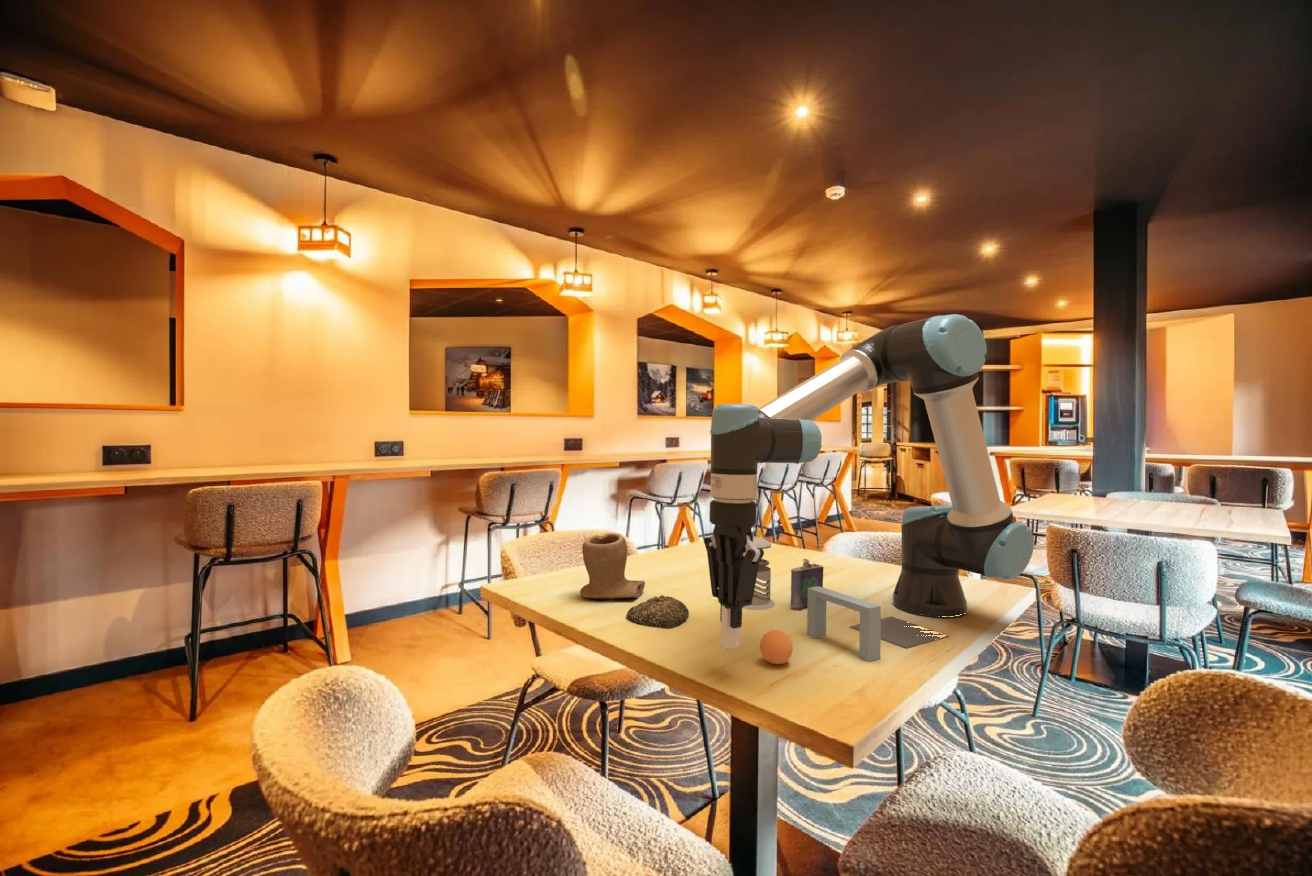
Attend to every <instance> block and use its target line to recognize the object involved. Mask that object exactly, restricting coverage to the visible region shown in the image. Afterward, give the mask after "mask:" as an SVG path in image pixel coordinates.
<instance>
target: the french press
mask: <svg viewBox="0 0 1312 876" xmlns="http://www.w3.org/2000/svg"><path fill="white" fill-rule="evenodd" d="M753 501H754V502H755V503H756V501H759V497H758V495H757V497H756V498H755V499H753ZM752 536H753V544H754V545H755V546H756V548H757V549H760V548H761V549H763V550H766V549H770V548H772V543H771V542H769V541H768V540H767V539H765V538H762V537H758V536H755V533H752ZM768 565H770V561H769V560H767V559H764V558H762V559H761V561H760V563H759V568H758V573H757V578H756V584H757V585H756V584H755V589H754V595H753V600H752V604H751V605H748V606H743V608H742V609H746V610H753V611H763V610H769V609H772V608H775V606H776V605H775V604H776V603H775V602H774V601H773V600H772V599H771V583H772V582H771V575H772V574H771V573H772V572H771V570H772V569H771V568H770V567H769V566H768ZM758 580H761V581H758ZM762 581H763V582H762ZM763 587H764V588H763Z"/></svg>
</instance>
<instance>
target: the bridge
mask: <svg viewBox="0 0 1312 876" xmlns="http://www.w3.org/2000/svg"><path fill="white" fill-rule="evenodd" d="M827 602H829V603H832V604H835V605H837V606H840V607H842V608H843V607H844V608H846V609H849V610H853V611H855V612H859V624H860V631H859V650H858V651H859V654H858V655H859V656H858V658H859V659H862V660H864V661H865V662H872V661H876V660H879V659H881V642H882V641H881V640H882V639H881V619H882V611H881V610H882V605H880V604H877V603H873V602H870V601H867V600H863V599H860V598H858V597H857V598H856V597H854V596H851V595H848V594H845V593H842V592H839V591H835V590H832V589H829V588H825V587H824V586H823V587H820V586H817V587H811V588H808V607H807V608H806V609H807V614H806V615H807V616H806V617H807V618H806V619H807V623H806V624H807V625H806V626H807V627H806V635H807V636H808V637H809V638H812V639H819V638H824V637H827Z"/></svg>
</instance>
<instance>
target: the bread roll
mask: <svg viewBox="0 0 1312 876" xmlns="http://www.w3.org/2000/svg"><path fill="white" fill-rule="evenodd" d="M689 616H690V613H689V609H688V607H687V605H686V604H685V603H684V602H682V601H681V600H679V599H677V598H674V597H673V596H668V595H667V596H666V595H663V594H661V595H659V596H656V595H655V596H653V597H650V598H648V599H647V600H646V601H642V602H640V603H639V604H636V605H634V606H631V607H630V608H629V609H628V611H627V613H626V619H627V620H629V621H630V620H631V621H630V622H633V623H636V624H639V623H640V625H643V624H644V625H643V626H648V627H655V626H657V627H656V628H660V627H662V629H672V628H675V626H676V627H678V626H681V625H682V624H684V623H685V622H686V621H687V620H688V618H689Z"/></svg>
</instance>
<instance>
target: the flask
mask: <svg viewBox="0 0 1312 876" xmlns="http://www.w3.org/2000/svg"><path fill="white" fill-rule="evenodd" d="M801 562H803V563H802V566H798V567H795V568H791V570H790V571H791V572H790V574H791V575H790V576H791V578H790V581H791V582H790V609H791V610H794V611H803V610H806V609H807V607H808V588H811V587H817V586H820V587H823V588H824V583H823V582H824V566H823V565H821V564H817V563H810V562H811V561H810V560H809V559H807V558H803V559H802V560H801Z"/></svg>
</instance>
